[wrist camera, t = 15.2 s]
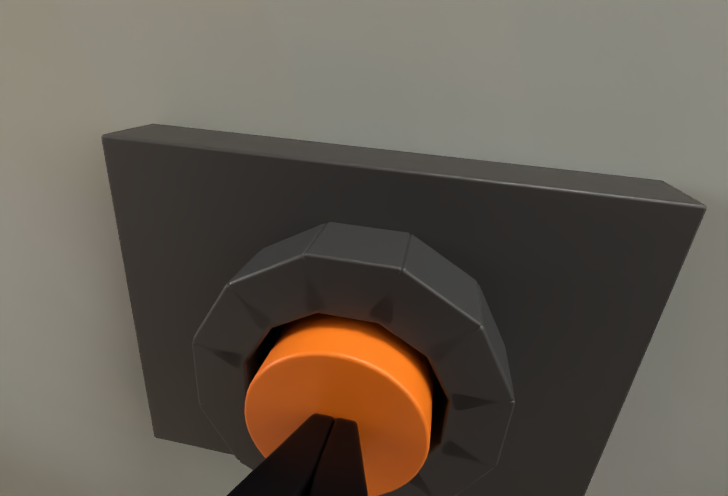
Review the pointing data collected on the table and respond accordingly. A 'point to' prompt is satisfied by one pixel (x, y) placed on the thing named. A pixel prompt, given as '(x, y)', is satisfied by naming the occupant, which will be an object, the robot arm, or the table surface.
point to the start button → (347, 393)
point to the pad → (398, 289)
